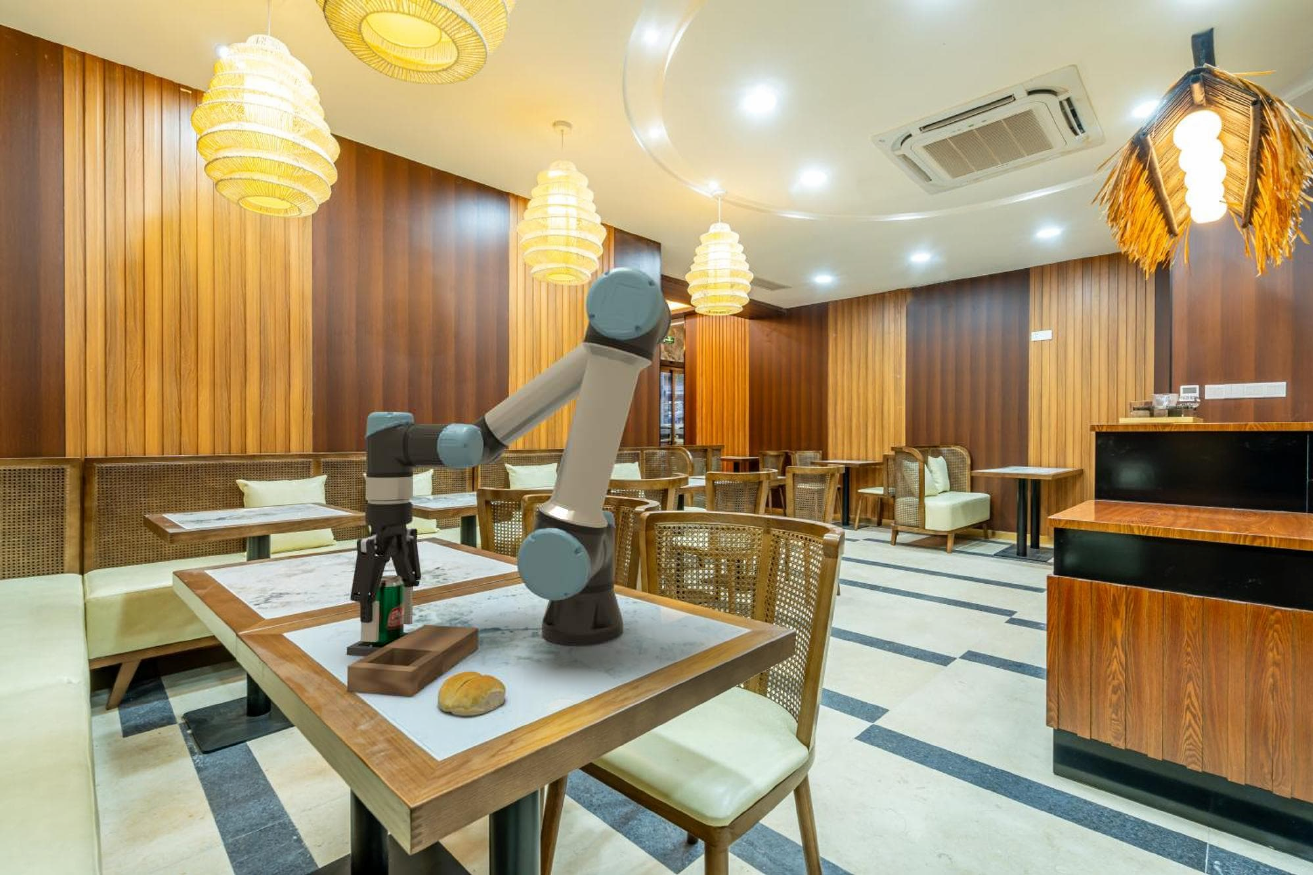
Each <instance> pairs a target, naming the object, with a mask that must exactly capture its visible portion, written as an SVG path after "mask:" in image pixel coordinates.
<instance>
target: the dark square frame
mask: <svg viewBox="0 0 1313 875" xmlns="http://www.w3.org/2000/svg"><path fill="white" fill-rule="evenodd" d="M409 633H410V632H404V636H405V635H407V634H409ZM379 649H381V648H379V647H372V642H367V641H361V640H359V641H357V642H354V643H353V644H351V645H348V646H346V655H349V656H362V657H366V656H368V655H370V654H371V653H373V652H375V651H377V650H379Z"/></svg>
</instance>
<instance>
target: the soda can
mask: <svg viewBox="0 0 1313 875" xmlns="http://www.w3.org/2000/svg"><path fill="white" fill-rule="evenodd" d="M375 601H379V641H377V642H372V645H371V647H379V648H383V647H385V646H386V645H388V644H390V643H392V642H394V641H396V640H398V639H399V638H401V637H403V636H404V631H405V629H404V628H405V627H404V626H405V624H404V582H403V580H402V577H401V576H397V574H395V575H394V574H393V575H383V576H382V579H381V582H380V586H379V589H378V592H377V596H376V599H375Z"/></svg>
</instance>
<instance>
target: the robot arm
mask: <svg viewBox="0 0 1313 875" xmlns="http://www.w3.org/2000/svg"><path fill="white" fill-rule="evenodd" d="M585 311H586V315H587V319H588V322H587V327H586V331H585V334H584V338H583V342H581V343H580V344H579V345H578V346H576V347H575V348H573V349H572V350H571V351H569V352H568V353H566V354H565V355H564V356H562V357H561V358H560V359H558V360H557V361H556V362H554V363H553V364H552V365H551V366H549V367H548V368H545V370H543V371H542V372H541V373H539V374H538V375H537V376H535V377H534V378H532V379H530V381H528V382H527V383H526V384H524V385H523V386H522V387H520V388H519V389H517V390H516V391H515V392H513V393H512V394H511V395H509V396H507V398H505V399H504V400H502V401H501V402H500V403H499V404H497V405H495V407H493V408H492V409H491V410H489V411H488V412H487V413H485V414H484V415H482V416H481V417H479V418H478V419H477V420H475V421H474V422H473V423H471V424H467V423H466V424H465V423H430V424H429V423H425V424H424V423H423V424H422V423H421V424H420V423H415V420H414V418H415V417H414V415H413V414H412V412H411V413H410V412H404V411H403V412H401V411H399V412H398V411H393V412H392V411H374V412H371V413H370V414H368V417H367V420H366V431H365V432H366V433H365V436H364V439H365V450H366V453H365V454H366V455H365V456H366V457H365V458H366V460H365V462H366V466H365V469H366V472H365V474H366V475H365V499H366V501H368V502H367V503H366V504H365V506H364V508H365V509H364V510H365V511H364V512H365V513H364V523H365V525H367V526H369V527H370V533H369V536H368V537H367V538H358V539H357V541H356V553H357V554H356V560H355V566H354V572H353V579H352V585H351V590H350V591H351V592H350V598H349V599H350V601H351V602H355V603H359V606H360V607H359V608H360V609H359V610H360V614H359V617H360V618H359V621H360V641H367V642H377V641H379V601H375V599H376V596H377V592H378V589H379V586H380V582H381V579H382V576H384V573H385V572H384V571H385V567H386V565H387V563H389V562H390V560H391V561H392V563H393V568H394V570H395V573H396V575H397V576H401V577H402V580H403V582H404V625H409V626H410V625H412V624H413V614H414V613H413V608H414V607H413V604H414V602H413V601H414V598H413V597H414V587H420V586H419V585H420V580H421V579H422V571H421V564H420V555H419V549H418V548H419V547H418V529H417V528H410V527H407V525H409V524H412V522H413V518H414V517H413V514H414V512H413V511H414V510H413V508H414V507H413V506H414V504H413V503H412V501H410V500H412V499H413V498H414V468H431V469H432V468H435V469H441V468H442V469H452V470H457V469H460V470H461V469H469V468H470V469H471V468H474V467H476V466H480V467H481V466H488V465H490V464H492V463H495V462H497V461H498V460H499V459H500V458H501V457H502V456H503V454H504V452H505V450H507V449H508V448H509V447H510V446H511V445H512V444H514V443H515V442H516V441H518V440H519V439H521V438H522V437H524V436H525V435H526V434H528V433H529V432H531V431H532V430H533V429H535V428H536V427H538V426H539V425H541V424H542V423H543V422H545V421H546V420H547V419H549V418H550V417H551V416H553V415H554V414H556V413H557V412H558V411H560V410H561V409H562V408H564V407H565V406H567V405H568V404H569V403H571V402H573V401H574V400H575V399H576V398H577V397H578V398H577V401H576V404H575V408H574V411H573V415H572V419H571V423H570V425H569V426H570V427H569V430H568V434H567V436H566V437H567V438H566V442H565V445H564V449H563V452H562V456H561V460H560V464H559V467H558V471H557V474H556V478H555V483H554V486H553V489H552V493H551V496H550V498H549V499H548V500H547V501H545V502H544V503H541V504H540V505H539V507H538V510H537V512H536V517H535V521H534V524H533V528H532V531H531V533H529V534H528V535H527V536H526V538H525V539H524V541H523V542H522V543H521V545H520V546H519V549H518V553H517V558H516V567H517V572H518V575H519V578H520V579H521V580H522V583H523V584H524V586H525V587H526V588H527V589H528V590H529V592H531V593H532V594H533V595H535V596H537V597H539V598H541V599H543V600H548V602H547V606H546V609H545V611H544V615H543V617H542V620H541V636H542V638H544V639H545V640H547V641H548V642H552V643H555V644H560V645H568V646H591V645H598V644H604V643H608V642H611V641H613V640H616V639H618V638H620V637H621V636H622V635H623V633H624V619H623V616H622V612H621V609H620V605H619V602H618V599H617V596H616V593H615V547H616V546H615V543H616V542H615V541H616V540H615V537H616V536H615V533H616V529H617V528H616V524H615V516H614V513H613V512H611V511H610V510H603V507H604V505H605V500H606V497H607V492H608V490H609V486H610V482H611V478H612V474H613V471H614V467H615V463H616V460H617V456H618V453H619V449H620V445H621V442H622V437H623V435H624V430H625V428H626V423H627V419H628V416H629V413H630V412H629V411H630V408H631V404H632V401H633V397H634V393H635V389H636V386H637V382H638V378H639V375H640V372H641V371H642V370H644V369H645V368H648V367H649V366H651V365H652V363H653V360H654V355H655V351H656V349H657V348H659V346H661V345H662V343H663V342H664V340H666V338H667V336H668V335H669V332H670V329H671V326H672V313H671V309H670V306H669V303H668V301H667V300H666V299H665V296H664V295H663V292H662V289H661V287H660V285H659V283H657V282H656V280H655V279H653V278H652V277H651V276H650V275H649V274H647V272H645V271H642V270H640V269H639V268H636V267H633V266H618V267H614V268H611V269H609V270H606V271H605V272H603V273H602V274H600V275H599V276H598V277H597V278H596V279H595V280H594V281H593V282H592V284H591V285H590V287H589V290H588V292H587V295H586V299H585Z"/></svg>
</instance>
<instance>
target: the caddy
mask: <svg viewBox="0 0 1313 875" xmlns="http://www.w3.org/2000/svg"><path fill="white" fill-rule="evenodd" d="M408 633H409V634H407V635H405V636H403V637H401V638H399V639H398V640H396V641H394V642H392V643H390V644H388V645H386V646H385V647H383V648H381V649H379V650H377V651H375V652H373V653H371V654H370V655H368V656H363V658H361V659H359V660H357V661H355V662H352V663H351V664H349V665H347V670H346V671H347V676H346V677H347V678H346V679H347V680H346V681H347V685H346V689H347V690H346V691H347V692H355V693H367V694H376V695H388V696H400V697H410V698H411V697H413V696H414V695H416V694H417V693H419V692H420V691H421V690H423V689H424V688H426V687H427V686H429V684H431V683H432V682H434V681H435V680H437V679H438V678H439V677H441V676H442V675H443V674H445V673H447V672H448V671H449V670H451V669H452V668H453V667H455V666H457V664H459V663H460V662H462V661H463V660H465V659H466V658H467V657H468V656H470V655H472V654H474V652H475V651H477V650H478V649H479V628H478V627H477V628H476V627H465V626H463V627H462V626H452V625H451V626H449V625H435V624H434V625H433V624H424V625H422V626H420V627H418V628H417V629H415V630H413V631H411V632H408Z"/></svg>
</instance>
